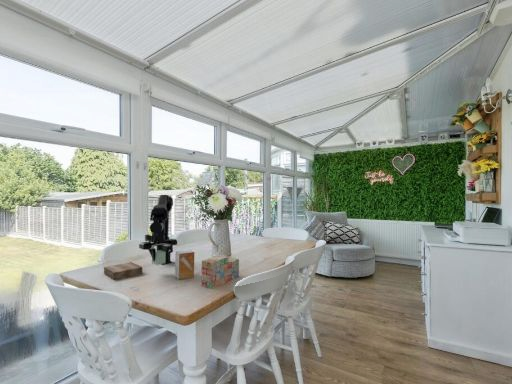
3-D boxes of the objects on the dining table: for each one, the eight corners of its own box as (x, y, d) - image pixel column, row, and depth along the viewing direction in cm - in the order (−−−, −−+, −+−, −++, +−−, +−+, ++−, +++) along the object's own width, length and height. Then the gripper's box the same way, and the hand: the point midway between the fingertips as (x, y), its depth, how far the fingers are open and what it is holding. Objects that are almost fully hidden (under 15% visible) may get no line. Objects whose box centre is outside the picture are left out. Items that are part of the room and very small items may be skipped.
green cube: (160, 261, 141) (160, 250, 141) (165, 263, 137) (165, 251, 137) (151, 263, 137) (152, 251, 137) (156, 264, 134) (156, 253, 134)
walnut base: (131, 269, 146) (131, 262, 146) (142, 274, 137) (142, 267, 137) (103, 274, 136) (104, 267, 136) (113, 280, 127) (113, 272, 127)
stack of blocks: (229, 274, 138) (229, 251, 138) (239, 276, 135) (239, 253, 135) (201, 286, 120) (201, 260, 120) (211, 289, 117) (211, 262, 117)
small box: (178, 279, 128) (179, 253, 128) (174, 276, 133) (175, 251, 134) (194, 277, 133) (194, 251, 133) (190, 273, 138) (190, 249, 138)
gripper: (167, 227, 150) (167, 254, 150) (134, 230, 136) (134, 260, 136) (178, 229, 142) (177, 258, 142) (144, 233, 128) (143, 264, 128)
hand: (158, 260), depth 137 cm, fingers closed on green cube, 5 cm apart
